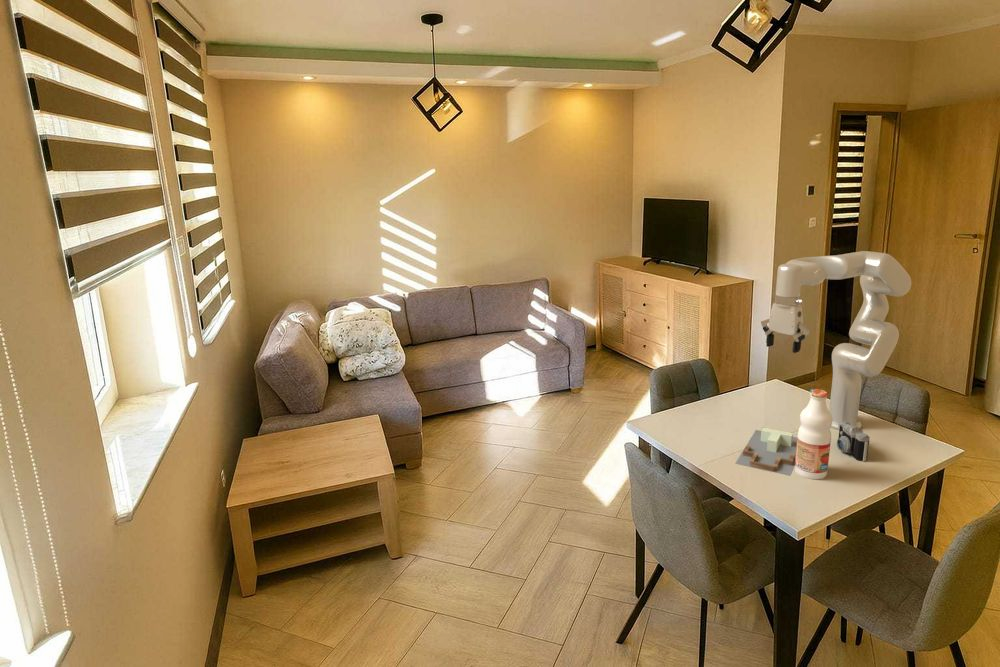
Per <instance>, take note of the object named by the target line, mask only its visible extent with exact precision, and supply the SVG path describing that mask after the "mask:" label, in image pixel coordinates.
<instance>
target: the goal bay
mask: <svg viewBox="0 0 1000 667" xmlns="http://www.w3.org/2000/svg"><path fill="white" fill-rule="evenodd" d="M746 445H747V444H746ZM746 445H745V447H746V448H745V447H744V448H745V449H744V448H743V450H744V451H743V450H742V452H743V456H748V457H752V458H751V460H750V465H751V467H750V468H752V467H755V468H754V469H757V468H759V469H758V470H761V469H764V470H763V471H766V470H768V471H767V472H770V471H773V472H772V473H775V472H774V471H775V470H776V471H777V469H778V467H779V465H780V463H781V464H786V465H790V466H792V464H793V461H794V459H795V454H792V453H791V455H790V458H789V459H784V458H780V457H777V459H776V461H775V463H774V465H768V464H763V463H759V462H756V460H757V458H758V453H756V452H751V451H750V449H751V445H747V446H746Z"/></svg>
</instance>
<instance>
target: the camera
mask: <svg viewBox="0 0 1000 667" xmlns="http://www.w3.org/2000/svg"><path fill="white" fill-rule="evenodd" d="M870 438H871V437H870V436H869V435H868V434H867V433H865V432H864V430H863V429H862V427H861V428H859V427H858V426H855V425H851V423H849V422H847V421H844V422H841V424H840V429H839V430H838V439H837V440H836V447H837V448H838V450H839V451H841V452H842V453H844V454H849V455H850V456H851V457H852V458H853V459H854V460H856V461H858V462H866V461H868V456H869V455H868V453H869V448H870V447H869V444H870V441H871V440H870Z"/></svg>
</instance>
